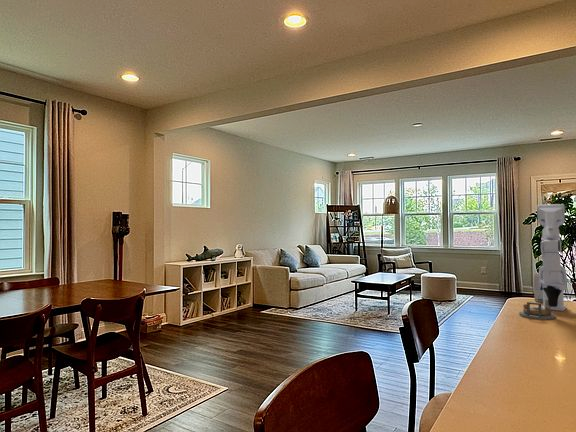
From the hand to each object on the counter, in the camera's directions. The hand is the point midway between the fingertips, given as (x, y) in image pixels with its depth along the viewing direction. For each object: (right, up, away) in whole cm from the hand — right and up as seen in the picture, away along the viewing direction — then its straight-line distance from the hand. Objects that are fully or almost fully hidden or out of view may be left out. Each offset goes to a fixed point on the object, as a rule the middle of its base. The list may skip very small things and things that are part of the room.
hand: (553, 306), depth 156 cm
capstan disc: (-5, -3, +2) cm, 6 cm away
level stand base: (-5, -4, +2) cm, 7 cm away
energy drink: (+15, -5, +32) cm, 35 cm away
